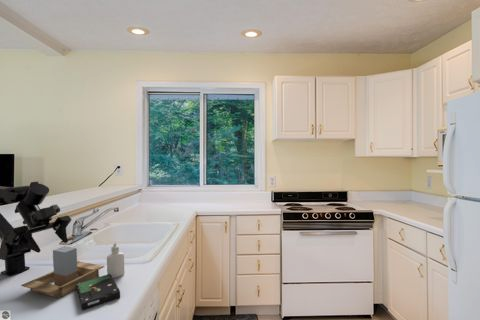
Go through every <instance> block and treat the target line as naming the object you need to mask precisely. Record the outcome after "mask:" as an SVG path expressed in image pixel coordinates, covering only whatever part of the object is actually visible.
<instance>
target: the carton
mask: <svg viewBox="0 0 480 320" xmlns="http://www.w3.org/2000/svg"><path fill="white" fill-rule="evenodd" d="M103 268H105V266H104V265H100V264H97V263H95V264H94V263H91V262H90V263H89V262H84V261H81V260H80V261H79V260H77V274H78V276H79V277H78V278H76V279H74V280H72V281H70V282H68V283H66V284H64V285H62V286H57V285H54V284H51V283H52V282H54V270H53V271H51V272H48V273H45V274H44V275H41V276H39V277H37V278H35V279H32V280H30V281H27V282H25V283H23V284H21V285H20V287H23V288H28V289H30V291H32V292H36V293H38V294H39V293H40V294H44V295H47V296H50V297H54V298H58V299H61V298H63V297H64V296H66V295H68V294H70V293H72V292H74V291H75V290H76V291H77V284H78V283H79V282H80V283H81V282H85V281H88V280H92V279H93V278H97V277H100V274H99V273H100V270H101V269H103Z"/></svg>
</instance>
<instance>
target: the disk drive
mask: <svg viewBox="0 0 480 320" xmlns="http://www.w3.org/2000/svg"><path fill="white" fill-rule="evenodd" d="M76 292H77V295H78V298H79V303H80V308H81V311H85V310H89V309H91V308H94V307H98V306H101V305H103V304H106V303H109V302H110V303H111V302H112V301H116V300H118V299H121V290H120V288H119V287H118V285H117V282H115V280H114V278H112V276H111V275H110V274H108V275H107V274H104V275H100V276H99V277H97V278H93V279H92V280H88V281H85V282H81V283H80V282H79V283H78V284H77V289H76Z"/></svg>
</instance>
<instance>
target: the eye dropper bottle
mask: <svg viewBox="0 0 480 320" xmlns="http://www.w3.org/2000/svg"><path fill="white" fill-rule="evenodd" d="M110 251H111V253H109V254H108V255H107V256H106V273H107V274H106V275H108V274H110V275H111V276H112V278H113V279H115V278H119V277H122V276H124V275H125V273H126V272H125V270H126V269H125V255H124V254H125V253H123V252H121V251H120V246H119V245H117V243H116V242H113V245H112V246H111V250H110Z"/></svg>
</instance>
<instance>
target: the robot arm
mask: <svg viewBox="0 0 480 320" xmlns="http://www.w3.org/2000/svg"><path fill="white" fill-rule="evenodd" d="M49 192H50V187H49V186H47V185H45V184H42V183H39V182H38V181H31V182H30V183H29V185H20V186H14V187H13V186H12V187H11V186H1V185H0V199H3V201H4V202H6V203H9V204H15V203H17V204H16V206H15V208H14V213H15V214H17V213H18V214H19V215H20V216H21V218H22V219H23V221H22V224H23V225H22V226H21V225H20V226H17V227H14V226H13V225H12V224H11V223H10V222H9V221H8V220H7V218H6V217H5V216H4V215H3V214H2V213H1V212H0V239H1V241H0V260H1V261H4V269H5V270H2V271H0V274H2V275H5V276H9V277H10V276H12V277H13V276H14V275H17V274H20V273H22V272H24V271H27V270H29V269H30V268H31V267H30V266H26V257H25V254H28V253H31V252H32V251H33V252H36V253H39V254H40V252H41V249H40V246H39V245H38V243H37V241H36V240H35V238H34V237H33V234H36V233H40V232H42V231H47V230H49V229H53V231H55V232H54V234H55V235H56V236H57V237H58V238H59V239H60V240H61V241H62V242H63V243H64V244H67V243H69V242H68V234H67V227H68V225H69V224H70V223H71V221H72V218H71V217H70V216H69V215H66V214H65V215H62V216H59V217H56V218H55V221H54V222H51V221H52V220H53V217H54V216H57V214H59V213H60V212H61V208H60V207H59V205H58V203H56V204H52V205H50V206H48V207H43V208H41V207H40V206H39V205H41V204H42V203H43V202H44V200H45V199H46V197H47V196H48V194H49Z"/></svg>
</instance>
